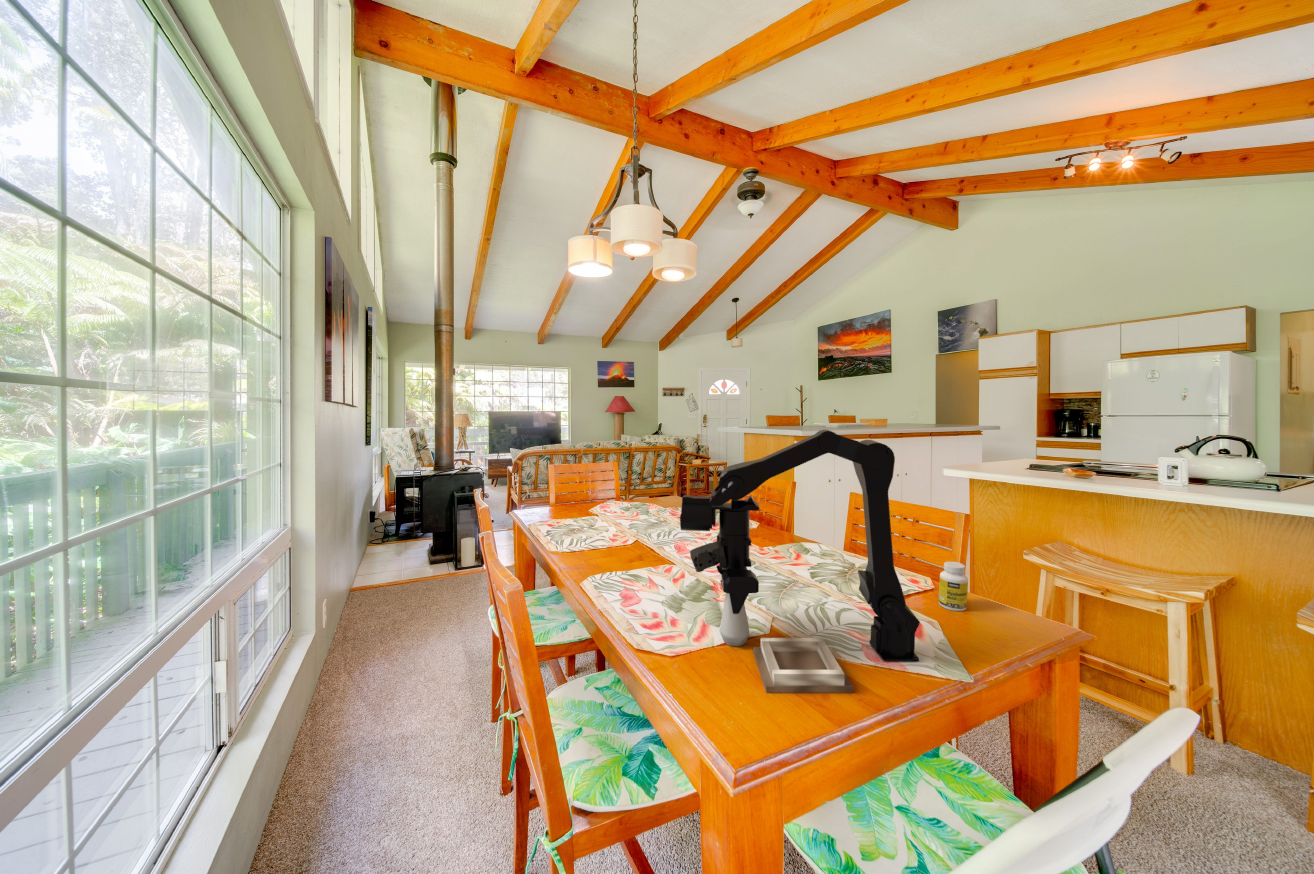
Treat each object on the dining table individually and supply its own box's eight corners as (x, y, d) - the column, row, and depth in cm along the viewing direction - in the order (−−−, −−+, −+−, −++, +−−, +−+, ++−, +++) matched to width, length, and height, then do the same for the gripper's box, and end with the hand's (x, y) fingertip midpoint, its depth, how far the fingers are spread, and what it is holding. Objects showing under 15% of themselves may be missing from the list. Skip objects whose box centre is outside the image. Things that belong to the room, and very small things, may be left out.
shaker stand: (828, 652, 88) (828, 636, 88) (853, 692, 76) (853, 674, 76) (753, 652, 89) (753, 636, 88) (766, 692, 77) (766, 674, 77)
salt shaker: (749, 650, 89) (749, 584, 88) (718, 647, 91) (718, 582, 89) (749, 634, 95) (749, 572, 94) (720, 632, 96) (720, 570, 95)
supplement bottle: (944, 611, 104) (946, 568, 103) (934, 600, 109) (935, 559, 108) (971, 612, 103) (973, 569, 102) (959, 601, 108) (961, 560, 108)
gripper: (690, 519, 100) (691, 589, 102) (694, 547, 82) (695, 633, 83) (742, 518, 100) (743, 589, 101) (759, 547, 81) (759, 633, 83)
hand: (734, 609), depth 92 cm, fingers closed on salt shaker, 3 cm apart
